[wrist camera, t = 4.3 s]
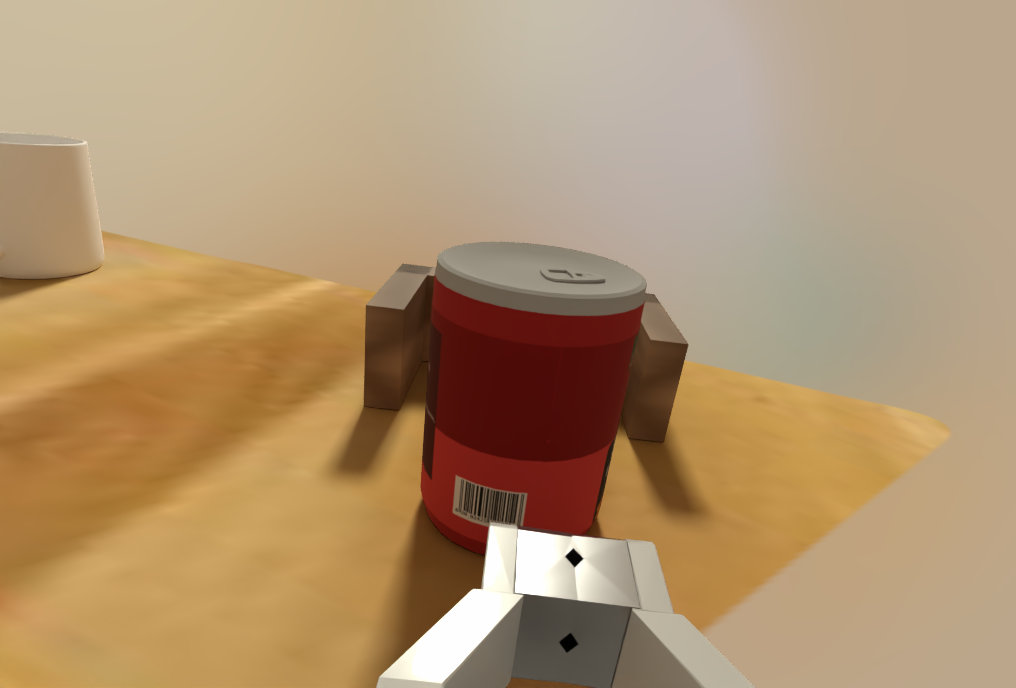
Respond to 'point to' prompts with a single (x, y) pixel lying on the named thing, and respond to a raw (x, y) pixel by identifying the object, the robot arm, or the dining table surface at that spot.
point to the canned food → (524, 386)
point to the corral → (406, 336)
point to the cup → (47, 208)
